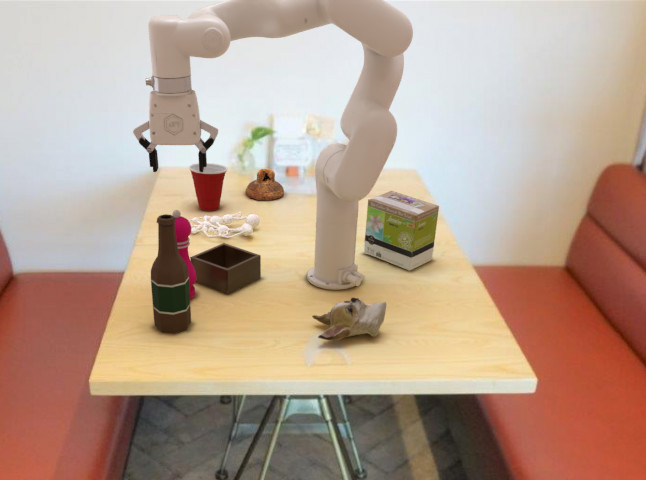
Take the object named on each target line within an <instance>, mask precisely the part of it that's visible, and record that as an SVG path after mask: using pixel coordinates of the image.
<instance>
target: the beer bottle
mask: <svg viewBox="0 0 646 480" xmlns="http://www.w3.org/2000/svg"><path fill="white" fill-rule="evenodd" d="M175 222H176V220H175V217H174V216H173V215H172V214H167V213H166V214H161V215H160V214H159V215H158V217H156V223H157V226H158V227H157V229H158V230H157V231H158V232H157V233H158V234H157V235H158V239H157V241H158V242H157V243H158V244H157V245H158V247H157V248H158V249H157V256H156V258H155V259H154V261H153V262H152V265H151V268H150V287H151V299H152V300H151V301H152V312H153V314H152V315H153V320H154V321H153V323H154V326H155V327H156V328H157V329H158V330H159V331H160V332H162V333H169V334H177V333H181V332H184V331H187V330H188V328H189V327H190V325H191V323H192V310H191V309H192V308H191V299H190V288H189V273H188V267H187V265H186V263H185V261H184V260H183V258H182V257H181V256H180V255H179V251H178V247H177V239H176V231H175Z"/></svg>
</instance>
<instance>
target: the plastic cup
mask: <svg viewBox="0 0 646 480" xmlns="http://www.w3.org/2000/svg"><path fill="white" fill-rule="evenodd" d="M188 169H189V171H190V173H191V178H192V182H193V185H194V186H193V187H194V191H195V196H196V201H197V205H198V209H199V210H201V211H204V212H214V211H218V210H219V209H220V206H221V198H222V193H223V186H224V180H225V176H226V174H227V172H228V167H227V166H226V165H223V164H218V163H208V162H207V167H204V170H203V172H199V163H194V164H191V165H189V166H188Z"/></svg>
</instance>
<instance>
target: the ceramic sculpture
mask: <svg viewBox="0 0 646 480" xmlns="http://www.w3.org/2000/svg"><path fill="white" fill-rule="evenodd" d="M387 304H388V303H387V302H386V301H383V302H374V303H370V304H366V303H365V302H364V300H363V299H360V298H359V297H351V298H350V300H344V301H340V302H337V303H336V304H335V305H334V306H332V308H331V309H330V311H328V312H327V313H324V314H321V315H315V314H314V315H311V316H312V319H314V320H315V321H318V322H319V323H321V324H324V325H325V326H326V325H327V326H330V327H328V328H326V329H325V331H324V332H323V333H321V334H319V335H318V336H317V338H319V339H322V340H326V341H331V342H337V341H340V340H343V339H344V338H348V337H353V336H358V335H364V334H368V335H369V336H371V337H373V338H375V337H376V336H377V335H378V334H379V330H380V329H381V326H382V325H383V323H384V321H385V318H386V317H385V316H386V310H387Z"/></svg>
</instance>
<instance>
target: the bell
mask: <svg viewBox="0 0 646 480" xmlns="http://www.w3.org/2000/svg"><path fill="white" fill-rule="evenodd" d="M275 176H276V174H275V171H274V170H272V169H268V168H261V169H259V170H258V171H257V173H256V179H254V180H252V181H250V183H248V184H247V186H246V188H245V195H246V196H247V197H248V198H250V199H253V200H257V201H272V200H277V199H279V198H282V197H283V196H284V194H285V189H284V187H283V185H282V184H281V183H280V182H278V181H276V179H275V178H276V177H275Z"/></svg>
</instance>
